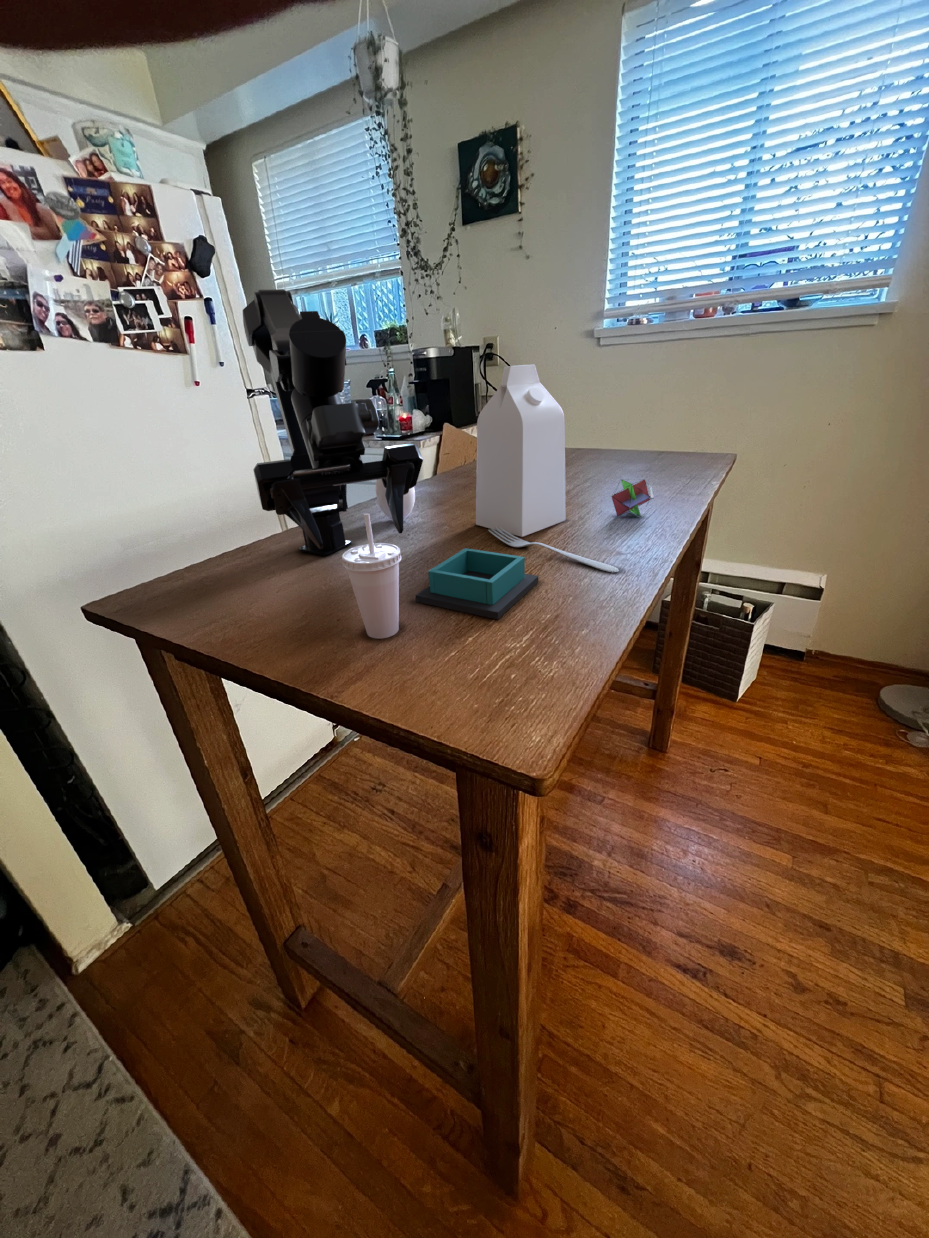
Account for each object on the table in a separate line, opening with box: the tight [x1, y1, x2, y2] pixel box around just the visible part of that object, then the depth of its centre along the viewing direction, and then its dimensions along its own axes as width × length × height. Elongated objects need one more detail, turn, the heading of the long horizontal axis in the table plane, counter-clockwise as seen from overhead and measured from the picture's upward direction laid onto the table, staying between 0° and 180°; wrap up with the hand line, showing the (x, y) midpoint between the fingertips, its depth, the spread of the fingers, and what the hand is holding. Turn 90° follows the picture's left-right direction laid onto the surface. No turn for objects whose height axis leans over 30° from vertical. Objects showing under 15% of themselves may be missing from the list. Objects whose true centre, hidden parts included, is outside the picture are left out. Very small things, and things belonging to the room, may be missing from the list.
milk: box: [475, 363, 567, 538], centre depth 87 cm, size 12×12×26 cm
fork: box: [487, 526, 620, 573], centre depth 78 cm, size 3×24×2 cm, turn 43°
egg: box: [375, 479, 416, 521], centre depth 96 cm, size 7×7×12 cm
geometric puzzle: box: [610, 478, 655, 518], centre depth 92 cm, size 7×7×8 cm
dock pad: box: [415, 547, 539, 621], centre depth 66 cm, size 12×12×4 cm
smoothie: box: [341, 512, 402, 639], centre depth 55 cm, size 6×6×14 cm
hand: (362, 539), depth 56 cm, fingers open, 9 cm apart
